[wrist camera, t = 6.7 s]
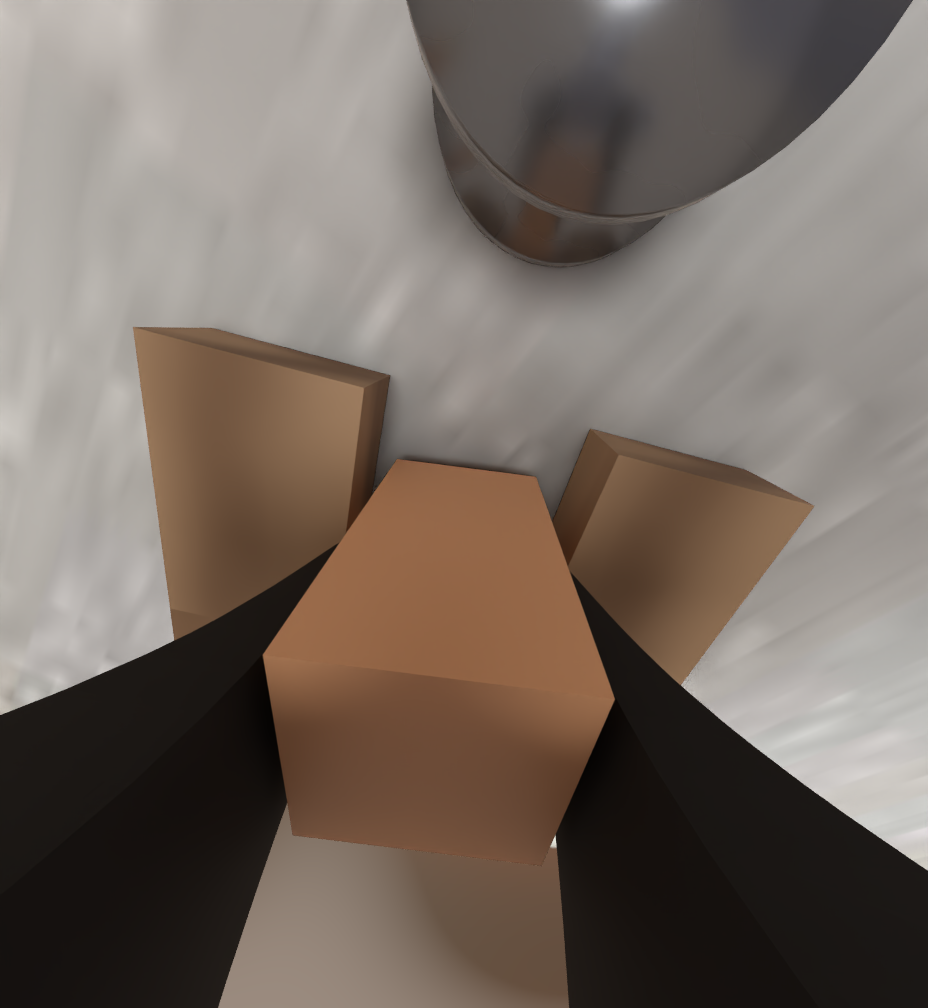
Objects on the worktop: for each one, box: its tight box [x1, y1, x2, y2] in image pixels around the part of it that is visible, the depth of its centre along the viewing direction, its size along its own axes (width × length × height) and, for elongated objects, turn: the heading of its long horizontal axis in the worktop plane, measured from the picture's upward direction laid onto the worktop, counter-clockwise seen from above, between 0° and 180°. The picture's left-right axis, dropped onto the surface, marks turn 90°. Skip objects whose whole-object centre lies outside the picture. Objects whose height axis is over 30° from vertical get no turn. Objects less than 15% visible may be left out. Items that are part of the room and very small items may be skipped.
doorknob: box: [406, 0, 913, 267], centre depth 6 cm, size 6×6×5 cm
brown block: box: [263, 459, 615, 866], centre depth 8 cm, size 4×4×7 cm
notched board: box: [133, 327, 814, 685], centre depth 12 cm, size 16×11×2 cm
